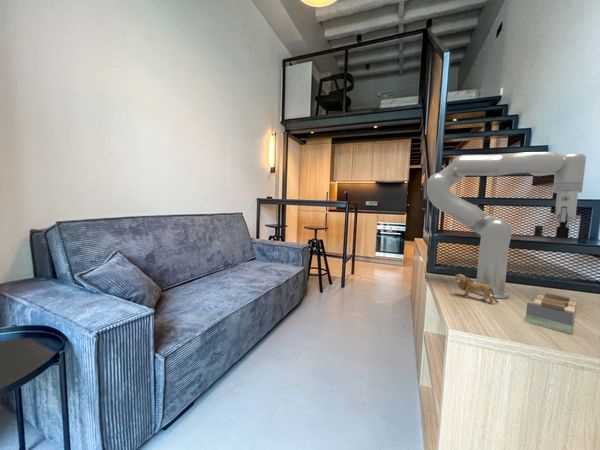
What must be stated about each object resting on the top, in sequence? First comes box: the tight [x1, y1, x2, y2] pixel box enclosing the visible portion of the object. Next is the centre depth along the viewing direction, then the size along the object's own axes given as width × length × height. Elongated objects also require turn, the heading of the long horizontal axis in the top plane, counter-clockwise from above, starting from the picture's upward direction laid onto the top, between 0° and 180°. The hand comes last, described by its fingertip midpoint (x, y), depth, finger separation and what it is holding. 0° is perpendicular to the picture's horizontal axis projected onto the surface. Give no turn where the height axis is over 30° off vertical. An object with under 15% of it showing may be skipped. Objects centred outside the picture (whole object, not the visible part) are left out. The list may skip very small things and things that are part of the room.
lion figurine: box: [453, 273, 499, 305], centre depth 100 cm, size 15×5×9 cm, turn 53°
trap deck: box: [524, 291, 577, 335], centre depth 89 cm, size 34×10×2 cm, turn 131°
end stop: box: [525, 301, 575, 327], centre depth 78 cm, size 2×10×4 cm, turn 41°
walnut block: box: [541, 298, 565, 311], centre depth 79 cm, size 5×5×4 cm
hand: (561, 237), depth 96 cm, fingers closed
